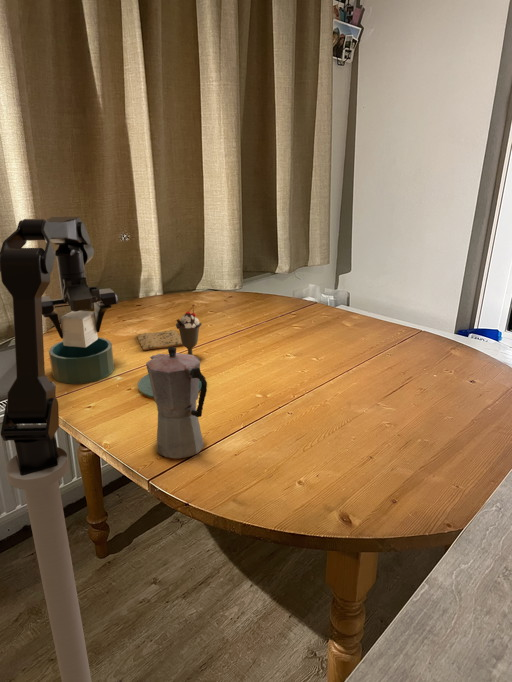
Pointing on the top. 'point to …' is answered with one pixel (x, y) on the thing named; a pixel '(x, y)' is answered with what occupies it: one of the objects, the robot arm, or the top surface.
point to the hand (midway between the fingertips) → (79, 334)
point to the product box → (79, 328)
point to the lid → (146, 388)
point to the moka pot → (177, 402)
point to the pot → (82, 362)
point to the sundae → (189, 330)
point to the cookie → (159, 339)
